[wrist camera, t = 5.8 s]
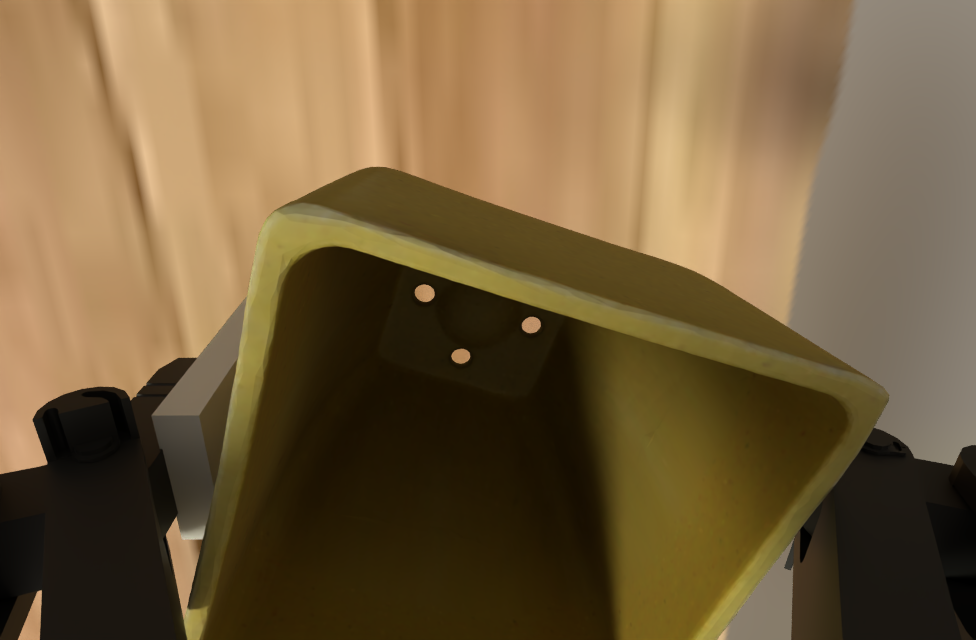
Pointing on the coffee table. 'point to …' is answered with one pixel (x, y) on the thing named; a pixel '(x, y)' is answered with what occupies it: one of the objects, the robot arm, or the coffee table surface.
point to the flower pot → (504, 432)
